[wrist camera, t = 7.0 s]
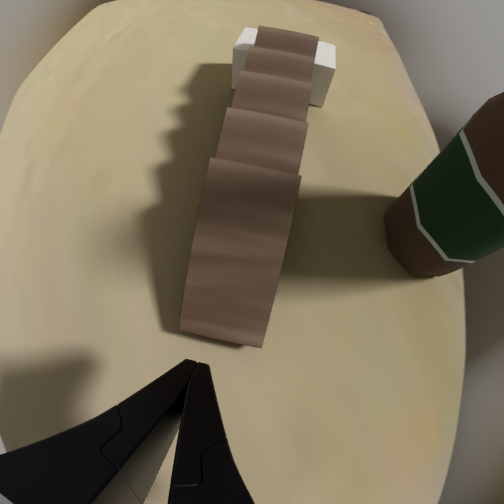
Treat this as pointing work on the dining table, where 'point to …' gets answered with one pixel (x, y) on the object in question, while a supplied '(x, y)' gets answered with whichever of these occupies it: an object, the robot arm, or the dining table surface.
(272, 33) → the domino
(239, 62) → the end block
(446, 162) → the beer bottle
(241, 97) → the domino
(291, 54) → the domino
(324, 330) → the dining table surface
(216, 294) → the domino
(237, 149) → the domino
